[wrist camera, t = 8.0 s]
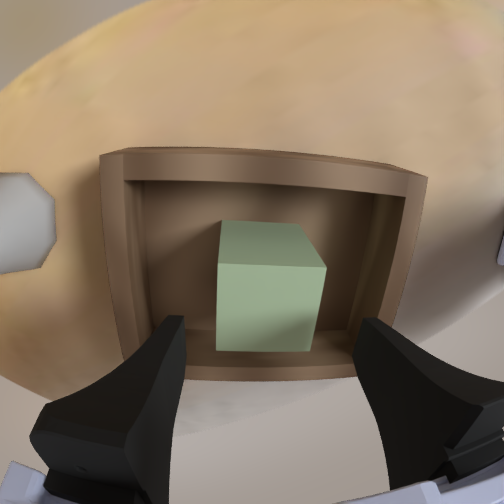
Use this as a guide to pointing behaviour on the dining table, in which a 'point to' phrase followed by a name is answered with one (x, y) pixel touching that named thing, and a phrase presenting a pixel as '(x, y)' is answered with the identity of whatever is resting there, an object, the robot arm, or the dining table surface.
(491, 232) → the dining table surface
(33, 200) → the flask
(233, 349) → the green block
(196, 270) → the walnut crate
